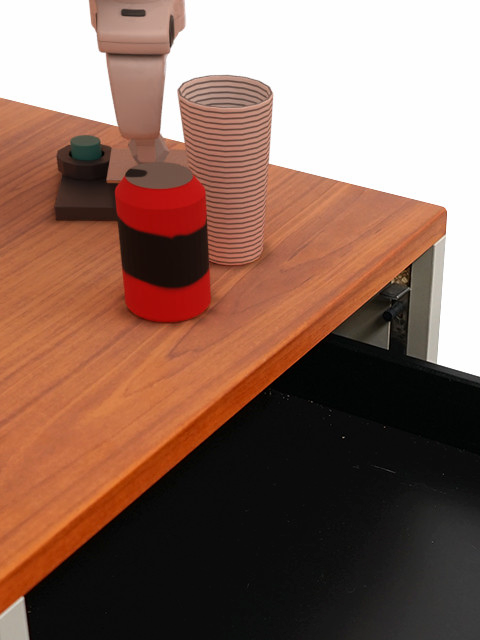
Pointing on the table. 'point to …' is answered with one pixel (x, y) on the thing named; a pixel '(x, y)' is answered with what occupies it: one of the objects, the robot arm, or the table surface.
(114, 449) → the table surface
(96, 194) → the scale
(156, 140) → the polyhedron
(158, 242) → the soda can
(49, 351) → the table surface
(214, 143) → the cup
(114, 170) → the pan
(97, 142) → the button
